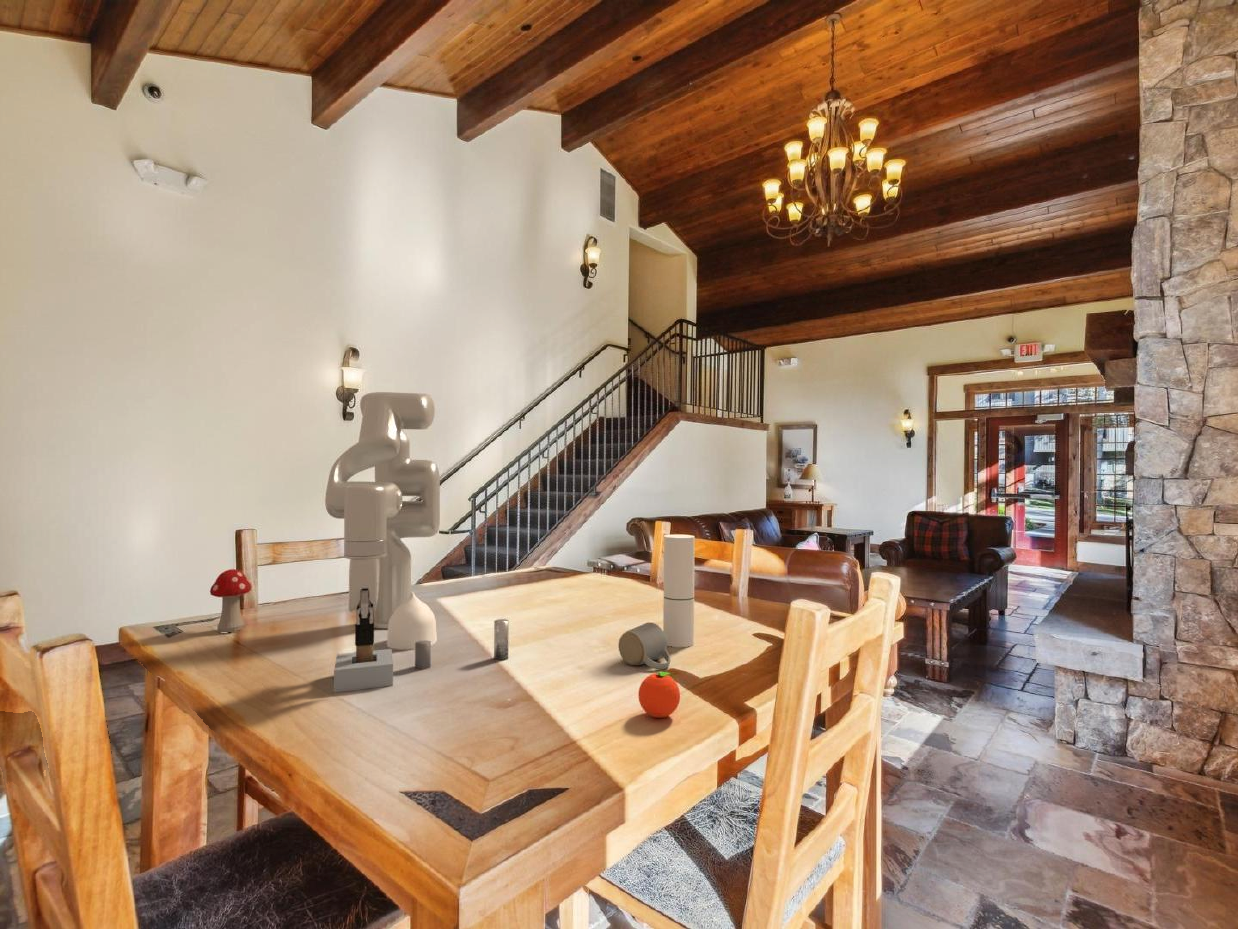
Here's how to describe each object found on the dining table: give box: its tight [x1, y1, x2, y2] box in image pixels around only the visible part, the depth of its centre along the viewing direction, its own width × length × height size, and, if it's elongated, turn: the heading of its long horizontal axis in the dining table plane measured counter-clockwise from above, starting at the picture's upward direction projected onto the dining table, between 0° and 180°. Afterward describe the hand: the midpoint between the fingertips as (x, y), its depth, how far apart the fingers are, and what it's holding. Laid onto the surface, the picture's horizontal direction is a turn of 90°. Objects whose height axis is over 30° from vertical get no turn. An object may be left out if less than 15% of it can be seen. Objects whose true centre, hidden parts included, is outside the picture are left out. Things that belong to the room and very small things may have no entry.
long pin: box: [355, 605, 374, 663], centre depth 117 cm, size 3×3×14 cm
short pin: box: [414, 640, 432, 670], centre depth 125 cm, size 3×3×5 cm
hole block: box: [333, 648, 394, 693], centre depth 117 cm, size 10×10×4 cm
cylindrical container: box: [662, 534, 696, 648], centre depth 144 cm, size 7×7×25 cm
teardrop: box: [386, 590, 438, 650], centre depth 142 cm, size 11×11×12 cm
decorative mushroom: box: [209, 568, 253, 633], centre depth 151 cm, size 10×9×15 cm
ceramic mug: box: [618, 622, 671, 670], centre depth 128 cm, size 11×8×8 cm
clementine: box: [637, 671, 681, 719], centre depth 102 cm, size 8×7×7 cm
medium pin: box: [493, 618, 510, 661], centre depth 131 cm, size 3×3×8 cm
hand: (364, 637), depth 118 cm, fingers open, 9 cm apart
